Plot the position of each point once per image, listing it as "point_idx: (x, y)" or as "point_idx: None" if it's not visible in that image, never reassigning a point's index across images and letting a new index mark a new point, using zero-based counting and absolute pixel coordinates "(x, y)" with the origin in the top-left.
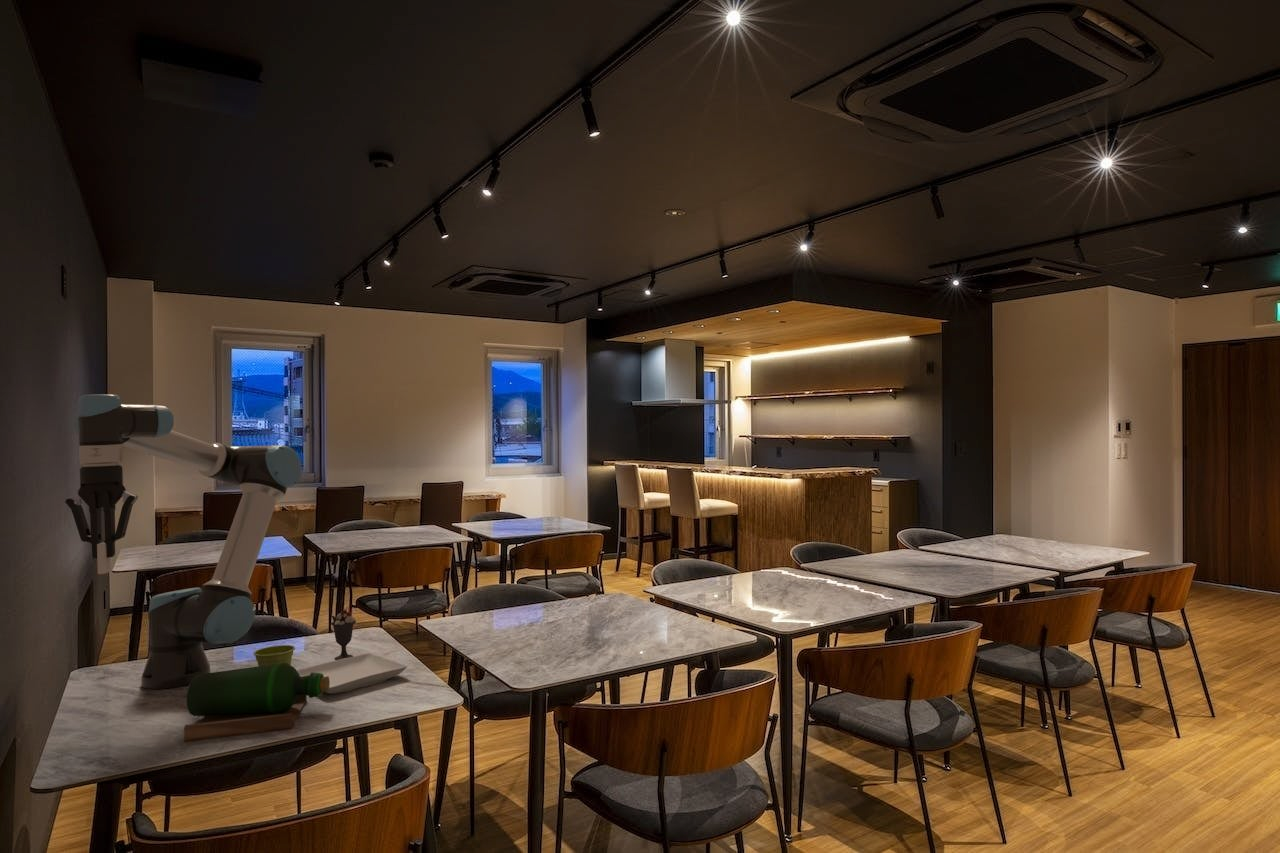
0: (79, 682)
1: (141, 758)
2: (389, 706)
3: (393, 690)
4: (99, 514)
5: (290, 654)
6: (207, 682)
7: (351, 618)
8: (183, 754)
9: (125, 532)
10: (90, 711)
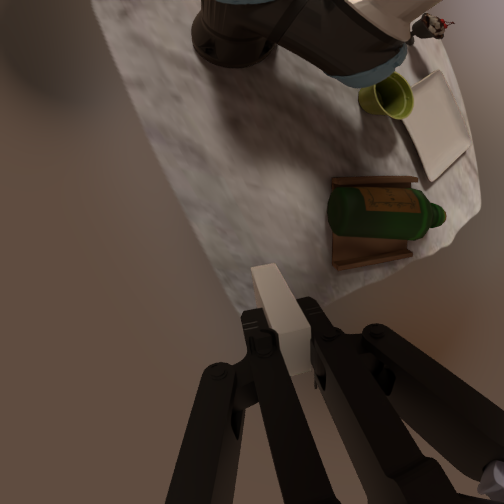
0: (103, 28)
1: (307, 296)
2: (455, 216)
3: (458, 174)
4: (326, 489)
5: (408, 105)
6: (362, 232)
7: (444, 31)
8: (338, 292)
9: (398, 340)
10: (176, 138)
